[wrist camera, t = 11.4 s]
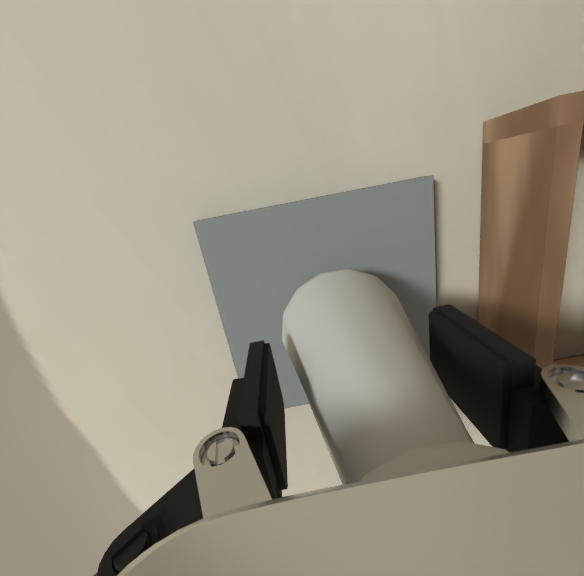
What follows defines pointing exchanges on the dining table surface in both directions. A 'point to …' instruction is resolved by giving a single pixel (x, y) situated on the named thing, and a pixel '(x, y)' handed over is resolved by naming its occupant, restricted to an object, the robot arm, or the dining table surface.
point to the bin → (528, 222)
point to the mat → (318, 261)
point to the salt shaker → (371, 380)
